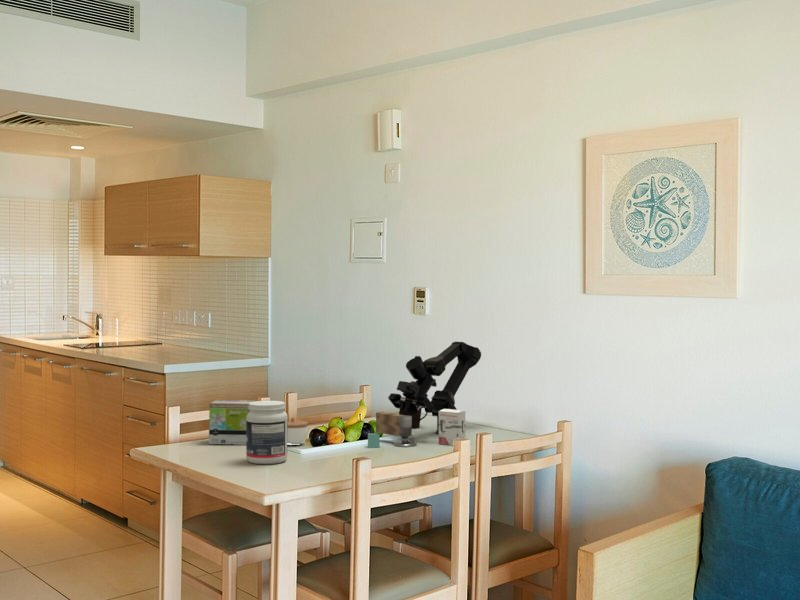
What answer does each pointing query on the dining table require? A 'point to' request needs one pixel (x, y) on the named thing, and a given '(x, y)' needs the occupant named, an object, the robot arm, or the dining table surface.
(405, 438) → the stool pivot and socket
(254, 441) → the supplement tub
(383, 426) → the brown rectangular block
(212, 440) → the tea box
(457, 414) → the ink box
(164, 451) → the dining table surface
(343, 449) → the dining table surface
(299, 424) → the lidded jar
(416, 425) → the coffee mug
